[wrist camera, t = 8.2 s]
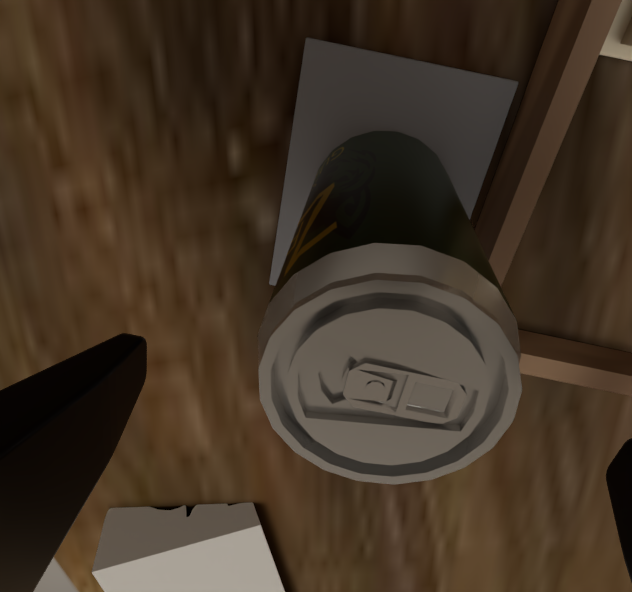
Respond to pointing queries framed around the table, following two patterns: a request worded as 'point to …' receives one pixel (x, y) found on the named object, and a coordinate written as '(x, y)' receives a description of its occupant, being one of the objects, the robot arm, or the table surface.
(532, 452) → the table surface
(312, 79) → the grey rubber mat
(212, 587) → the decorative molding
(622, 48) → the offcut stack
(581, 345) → the wooden tray
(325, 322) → the beer can
